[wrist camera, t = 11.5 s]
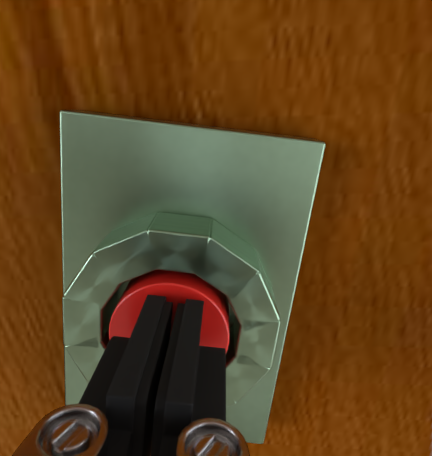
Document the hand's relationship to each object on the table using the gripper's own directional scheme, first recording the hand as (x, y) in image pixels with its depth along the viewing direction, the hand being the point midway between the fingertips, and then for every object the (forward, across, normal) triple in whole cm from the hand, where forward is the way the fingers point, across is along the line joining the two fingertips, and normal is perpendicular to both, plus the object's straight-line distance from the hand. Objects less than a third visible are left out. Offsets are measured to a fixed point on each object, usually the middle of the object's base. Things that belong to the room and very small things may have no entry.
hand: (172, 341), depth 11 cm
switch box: (+3, 0, 0) cm, 3 cm away
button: (+2, 0, 0) cm, 2 cm away
